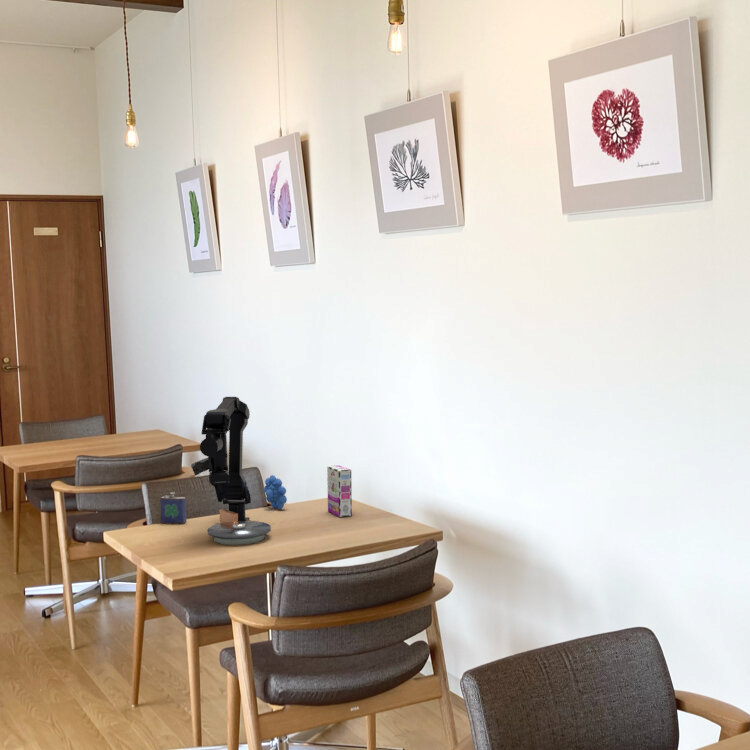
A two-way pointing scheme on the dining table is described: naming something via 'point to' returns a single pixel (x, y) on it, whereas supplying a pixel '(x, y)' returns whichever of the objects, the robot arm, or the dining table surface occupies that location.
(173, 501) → the flask
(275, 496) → the grapes
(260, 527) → the grey disc with hub
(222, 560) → the dining table surface
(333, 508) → the candy bar box
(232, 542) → the valve base
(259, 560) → the dining table surface
